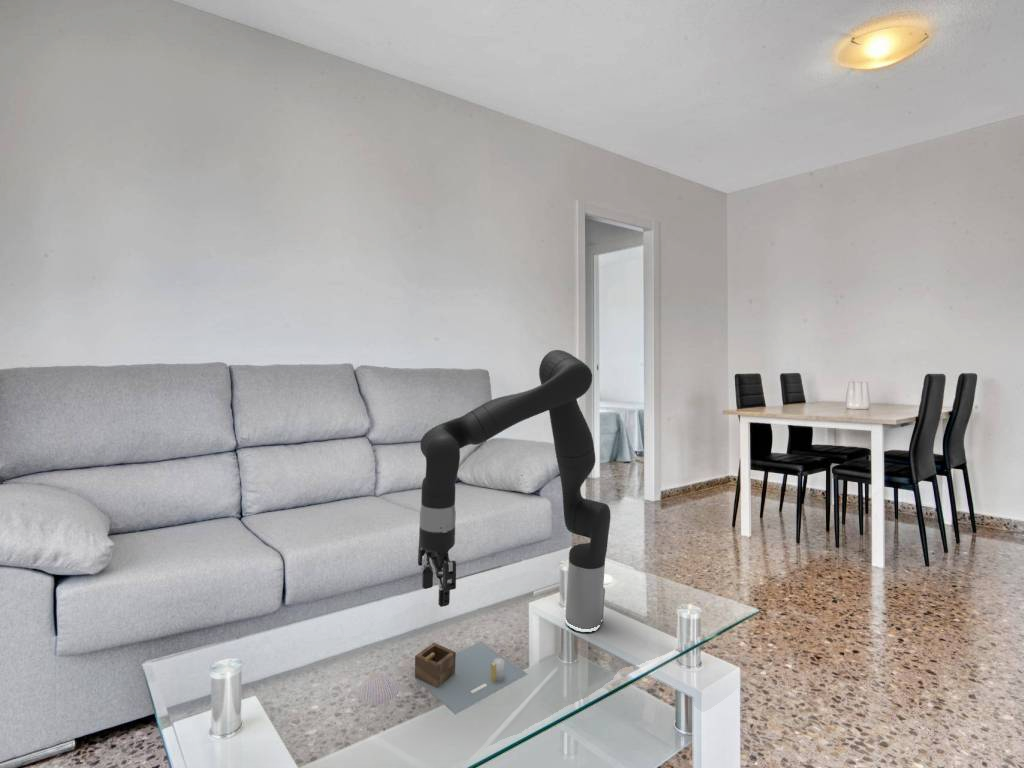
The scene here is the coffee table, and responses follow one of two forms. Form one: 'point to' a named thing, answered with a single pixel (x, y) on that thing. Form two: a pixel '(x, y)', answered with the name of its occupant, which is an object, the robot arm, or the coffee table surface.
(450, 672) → the open wooden crate
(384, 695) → the seashell
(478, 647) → the shaft plate
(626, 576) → the coffee table surface
